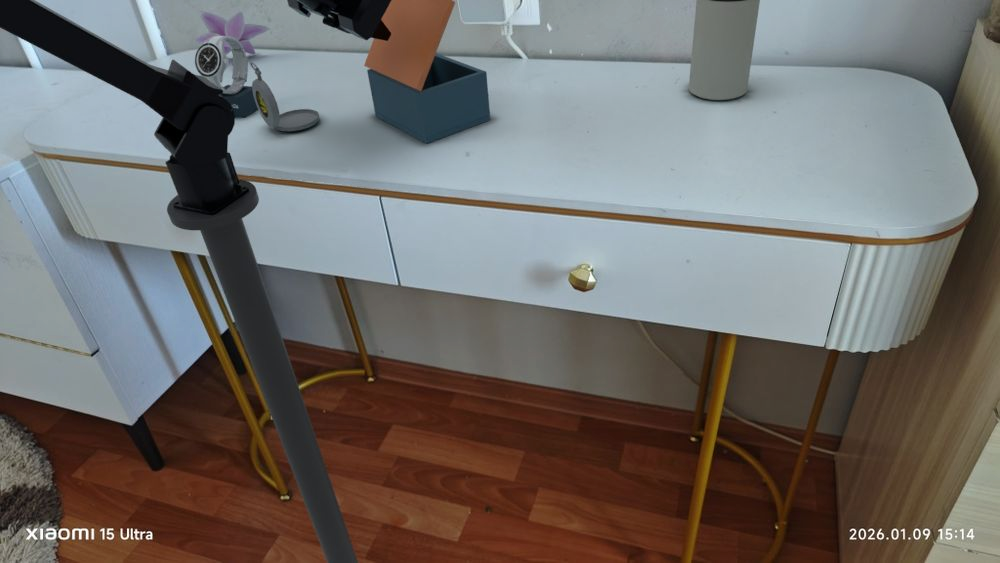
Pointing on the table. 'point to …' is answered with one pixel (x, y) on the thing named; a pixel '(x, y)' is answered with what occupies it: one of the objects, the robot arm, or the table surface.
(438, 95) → the storage box
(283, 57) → the table surface
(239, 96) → the watch
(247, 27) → the lily
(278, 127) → the pocket watch
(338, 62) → the table surface
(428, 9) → the box lid
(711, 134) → the table surface
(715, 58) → the travel mug
